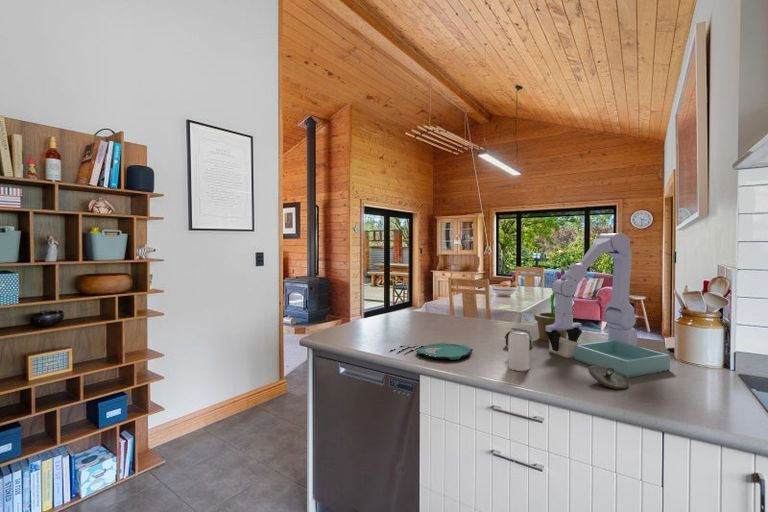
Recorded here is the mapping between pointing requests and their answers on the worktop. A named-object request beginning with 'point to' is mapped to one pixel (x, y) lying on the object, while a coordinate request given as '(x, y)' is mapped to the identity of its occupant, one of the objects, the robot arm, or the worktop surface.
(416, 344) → the worktop surface
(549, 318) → the flowerpot
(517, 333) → the can
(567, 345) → the small crate
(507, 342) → the pottery mug
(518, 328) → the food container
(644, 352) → the big tray
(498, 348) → the worktop surface
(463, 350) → the teal platter
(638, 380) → the worktop surface
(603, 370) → the lid
